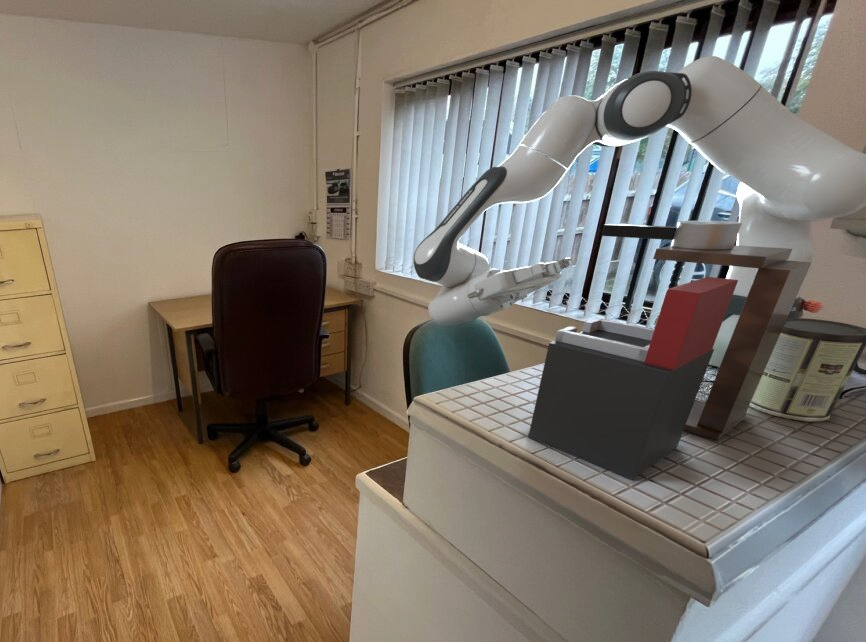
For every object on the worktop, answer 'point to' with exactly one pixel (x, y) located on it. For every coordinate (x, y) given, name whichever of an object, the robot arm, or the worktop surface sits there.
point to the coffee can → (809, 369)
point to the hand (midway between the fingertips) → (557, 263)
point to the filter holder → (683, 233)
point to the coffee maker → (630, 380)
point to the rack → (744, 330)
